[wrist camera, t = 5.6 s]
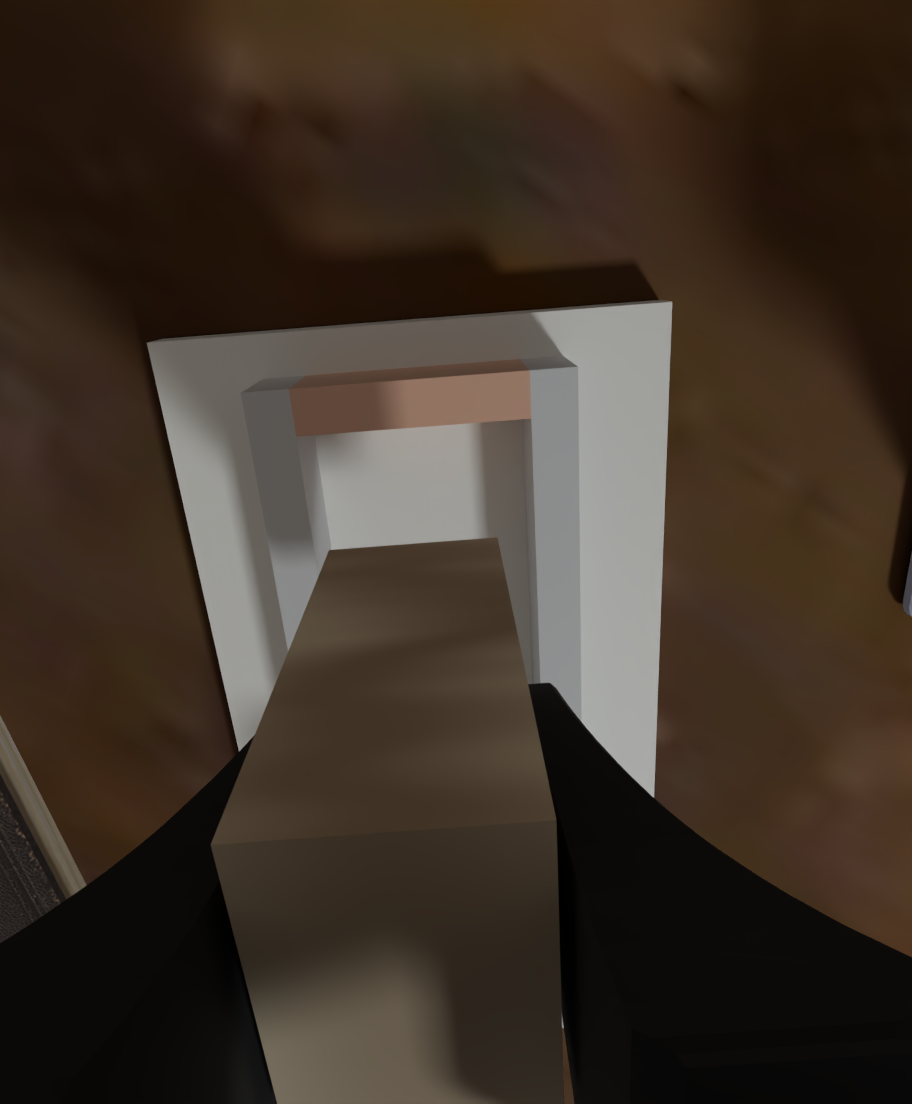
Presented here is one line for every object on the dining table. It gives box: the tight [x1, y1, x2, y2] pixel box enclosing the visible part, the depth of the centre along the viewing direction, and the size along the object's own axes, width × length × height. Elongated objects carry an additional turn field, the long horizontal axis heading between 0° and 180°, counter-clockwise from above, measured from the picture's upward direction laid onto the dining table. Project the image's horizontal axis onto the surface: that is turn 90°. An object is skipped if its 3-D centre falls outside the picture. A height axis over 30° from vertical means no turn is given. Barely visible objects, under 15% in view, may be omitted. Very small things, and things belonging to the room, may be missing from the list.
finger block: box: [211, 537, 564, 1104], centre depth 10 cm, size 3×4×7 cm, turn 4°
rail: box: [147, 300, 672, 1028], centre depth 18 cm, size 12×22×8 cm, turn 4°
